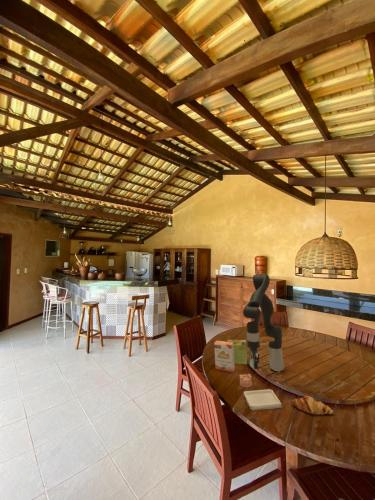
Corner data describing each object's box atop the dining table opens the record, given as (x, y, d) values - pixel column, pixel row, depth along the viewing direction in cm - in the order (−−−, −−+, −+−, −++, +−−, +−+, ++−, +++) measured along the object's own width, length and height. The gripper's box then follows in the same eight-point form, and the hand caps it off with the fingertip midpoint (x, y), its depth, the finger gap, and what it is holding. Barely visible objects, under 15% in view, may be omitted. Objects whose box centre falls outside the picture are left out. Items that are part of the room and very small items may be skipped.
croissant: (332, 417, 127) (331, 400, 130) (335, 420, 119) (333, 402, 122) (290, 407, 136) (290, 392, 139) (290, 409, 128) (290, 392, 131)
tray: (271, 392, 146) (271, 389, 146) (281, 407, 132) (281, 403, 132) (243, 395, 145) (243, 391, 145) (250, 410, 131) (250, 406, 131)
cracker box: (215, 369, 178) (213, 342, 178) (217, 366, 183) (216, 340, 183) (233, 372, 172) (231, 345, 172) (235, 369, 177) (233, 342, 178)
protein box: (247, 364, 183) (246, 345, 184) (228, 363, 187) (226, 344, 187) (246, 358, 194) (245, 339, 194) (228, 357, 197) (227, 339, 197)
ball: (257, 365, 145) (256, 356, 146) (260, 369, 140) (259, 360, 140) (248, 365, 145) (248, 356, 146) (251, 369, 140) (250, 360, 140)
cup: (250, 379, 161) (249, 372, 161) (254, 386, 153) (253, 378, 153) (238, 380, 161) (237, 373, 161) (241, 387, 153) (241, 379, 153)
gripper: (263, 343, 136) (264, 371, 136) (255, 334, 150) (256, 360, 150) (250, 343, 136) (251, 372, 135) (244, 335, 150) (245, 361, 150)
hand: (254, 366), depth 143 cm, fingers closed on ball, 5 cm apart
